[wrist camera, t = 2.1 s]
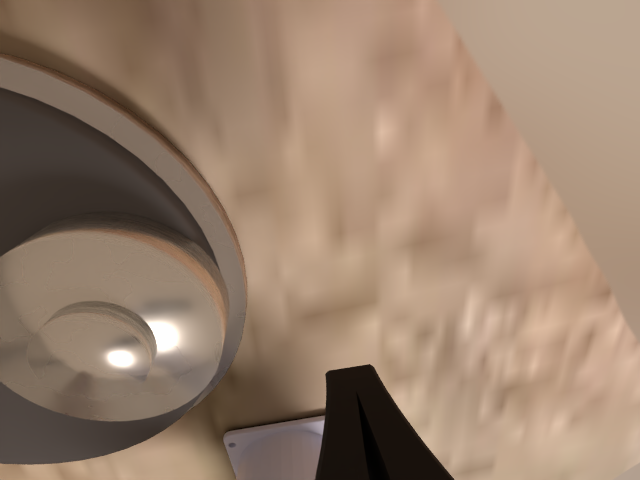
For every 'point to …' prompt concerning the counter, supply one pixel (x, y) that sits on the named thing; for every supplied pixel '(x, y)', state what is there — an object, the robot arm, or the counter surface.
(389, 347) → the counter surface
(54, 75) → the base
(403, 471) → the robot arm
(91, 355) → the cover
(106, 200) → the turntable
